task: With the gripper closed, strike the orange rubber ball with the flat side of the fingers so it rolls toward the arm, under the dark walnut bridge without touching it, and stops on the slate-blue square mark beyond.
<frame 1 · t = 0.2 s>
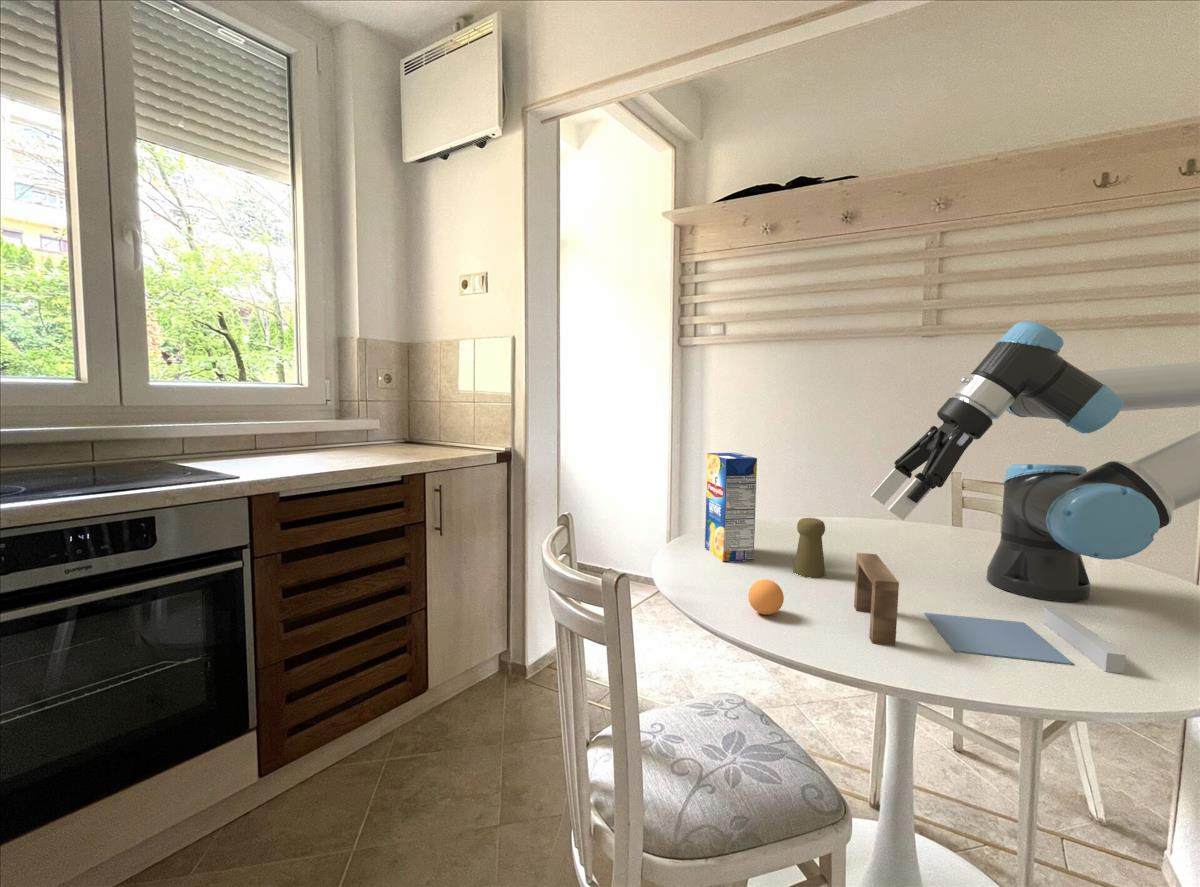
hand: (885, 507, 98), 16 cm above the table, tool tilted 35°, fingers open, 13 cm apart
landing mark: (991, 636, 83), on the table
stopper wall: (1079, 645, 80), on the table
cork: (809, 574, 112), on the table
beverage box: (728, 555, 125), on the table
ball: (765, 596, 91), on the table
bridge: (872, 624, 87), on the table
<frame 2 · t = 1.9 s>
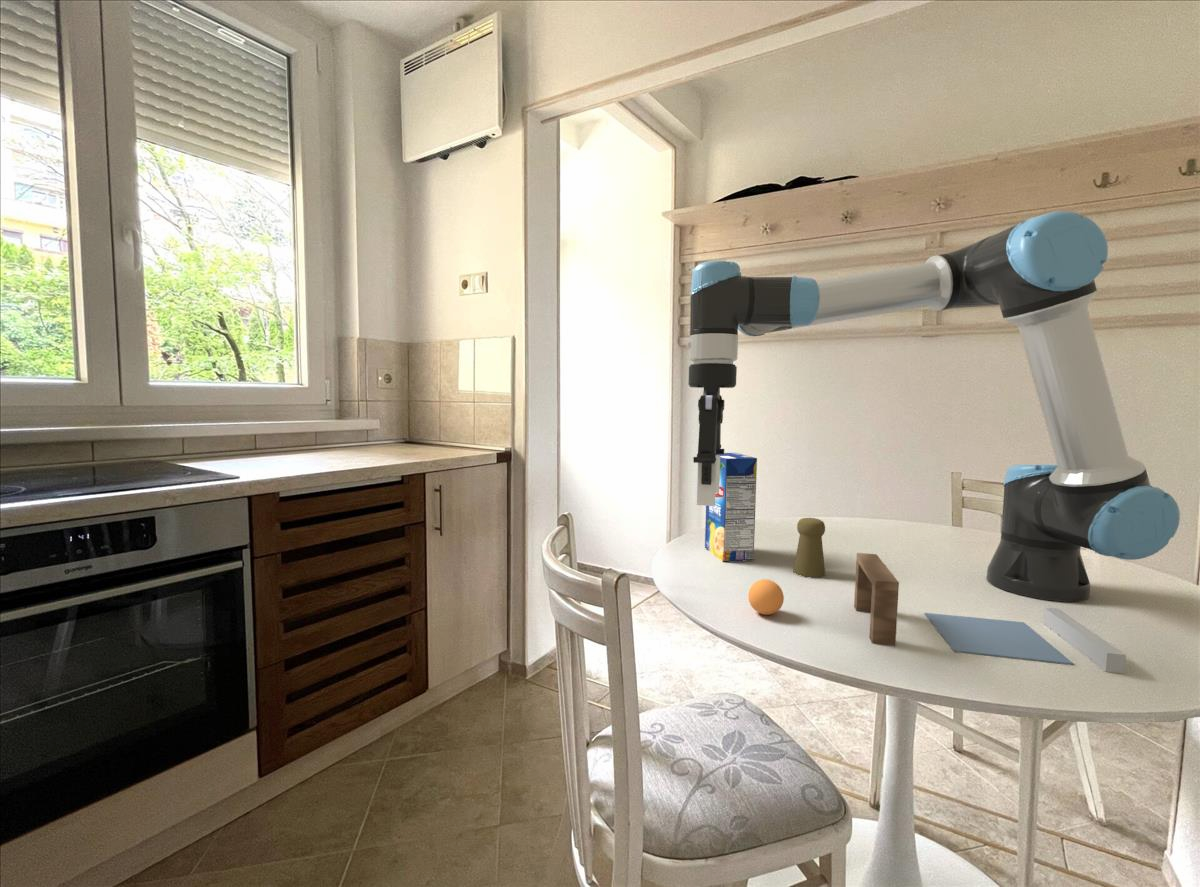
hand: (708, 498, 92), 18 cm above the table, tool pointing down, fingers open, 11 cm apart
nothing on the table moved.
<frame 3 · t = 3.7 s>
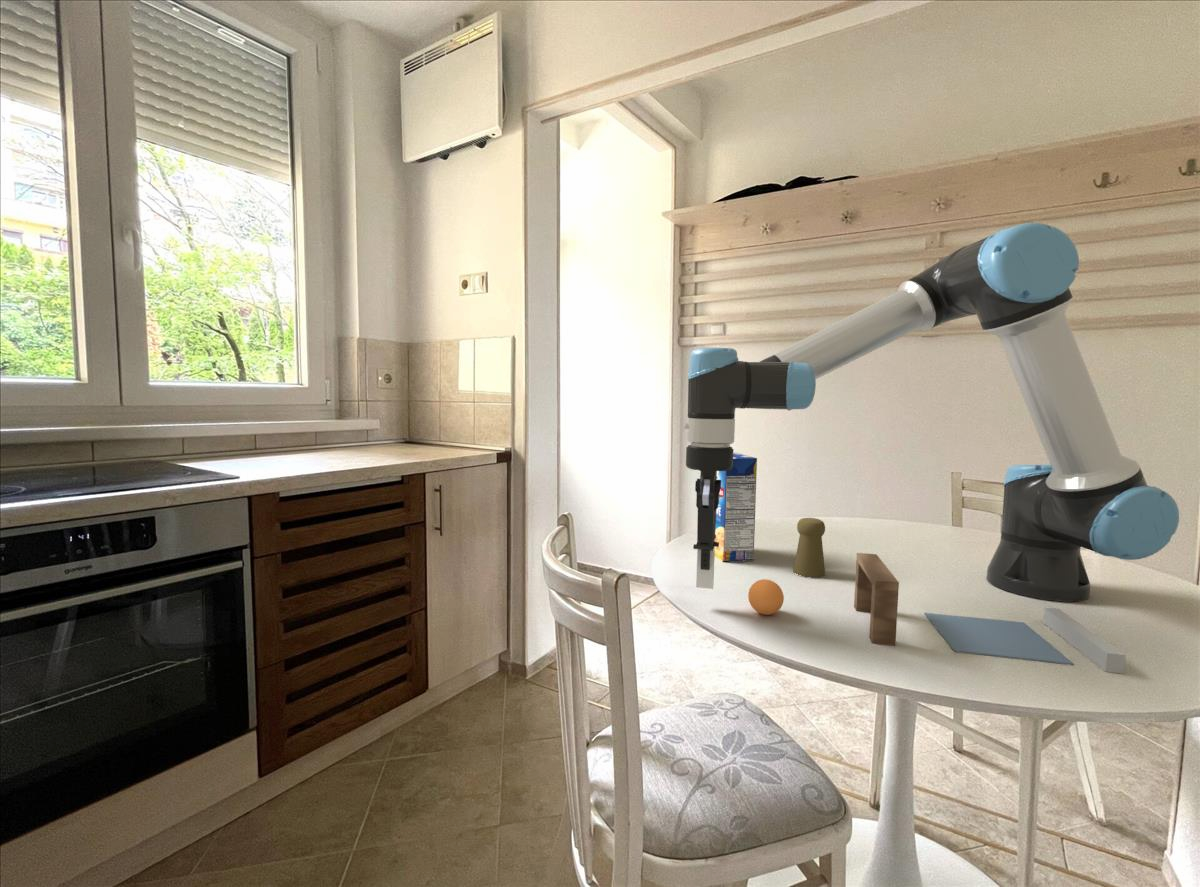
hand: (704, 586, 93), 4 cm above the table, tool pointing down, fingers closed
nothing on the table moved.
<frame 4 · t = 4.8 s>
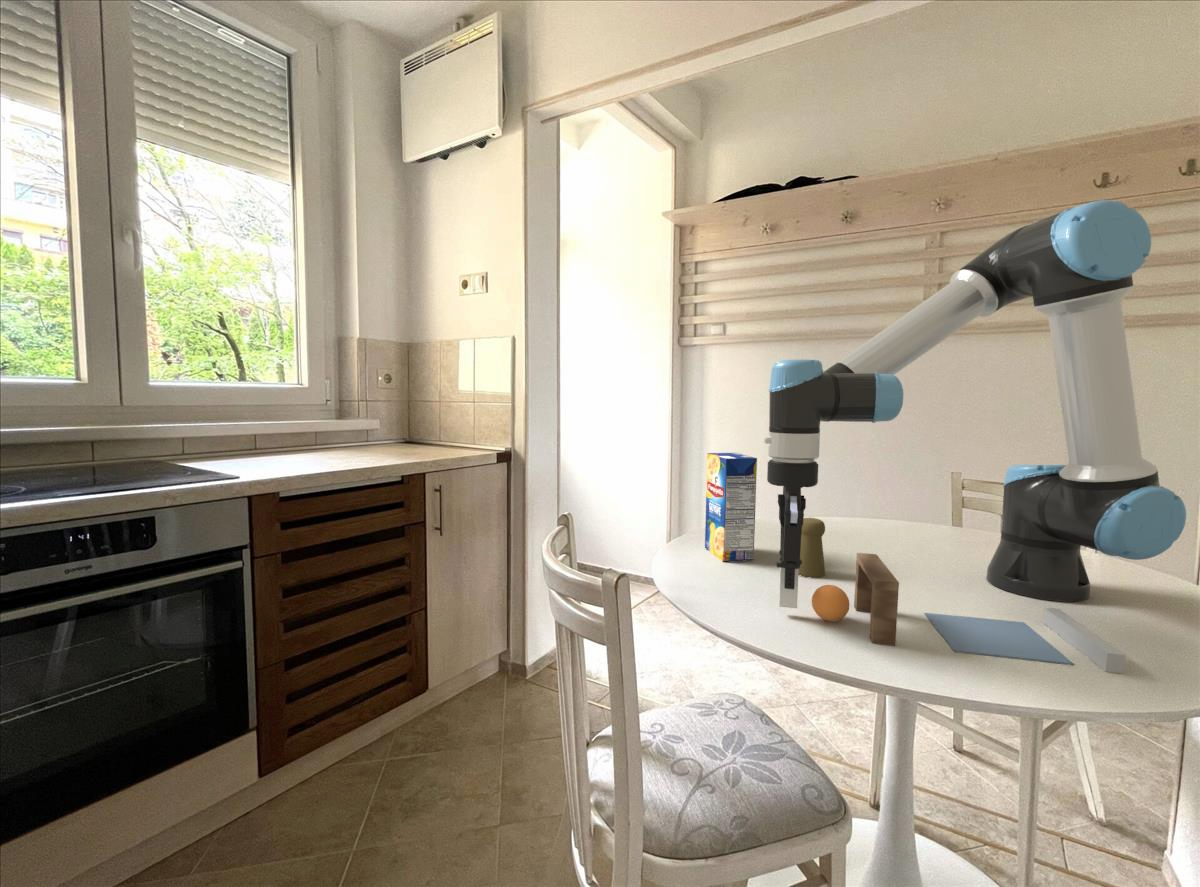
hand: (787, 605, 90), 2 cm above the table, tool pointing down, fingers closed
ball: (830, 602, 88), on the table
everything else where it was.
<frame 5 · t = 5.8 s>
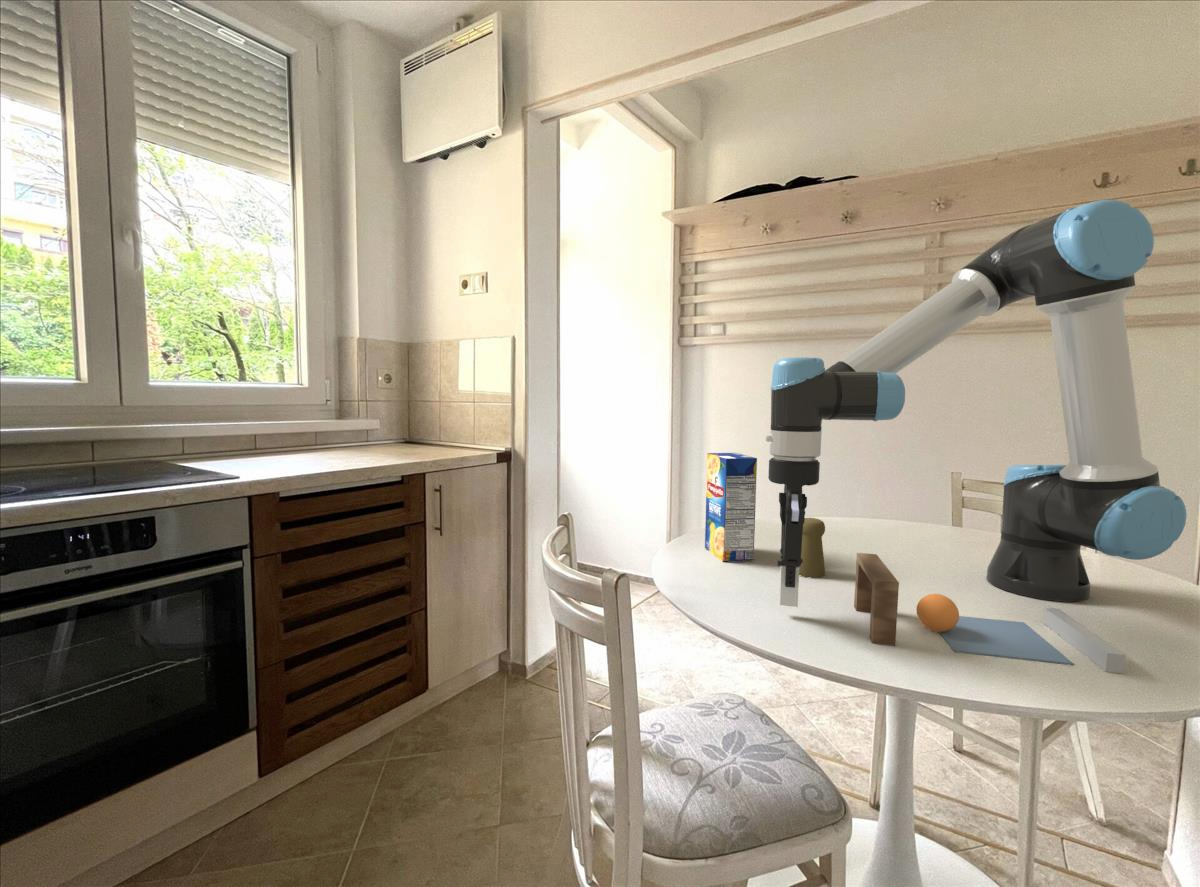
hand: (788, 604, 90), 2 cm above the table, tool pointing down, fingers closed
ball: (937, 612, 85), on the table
everything else where it was.
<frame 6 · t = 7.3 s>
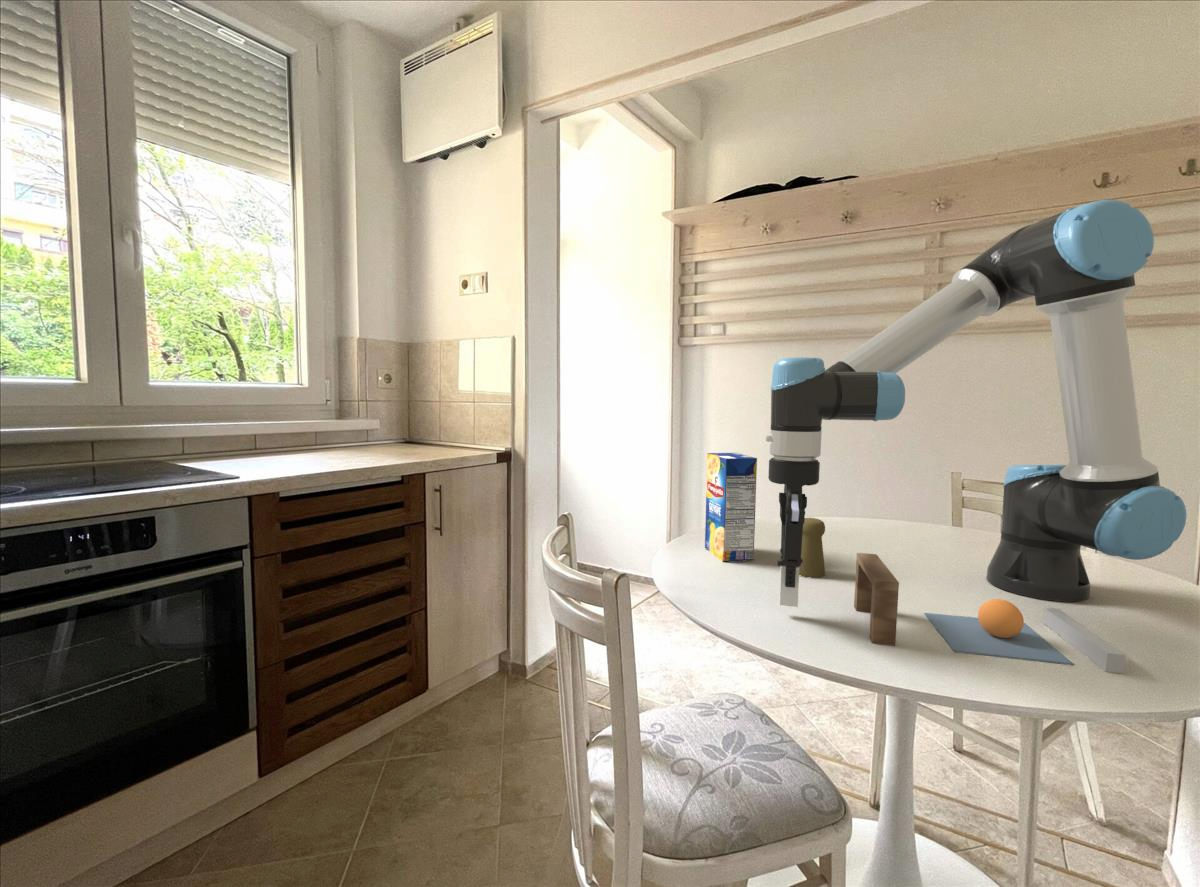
hand: (788, 604, 90), 2 cm above the table, tool pointing down, fingers closed
ball: (1000, 618, 83), on the table
everything else where it was.
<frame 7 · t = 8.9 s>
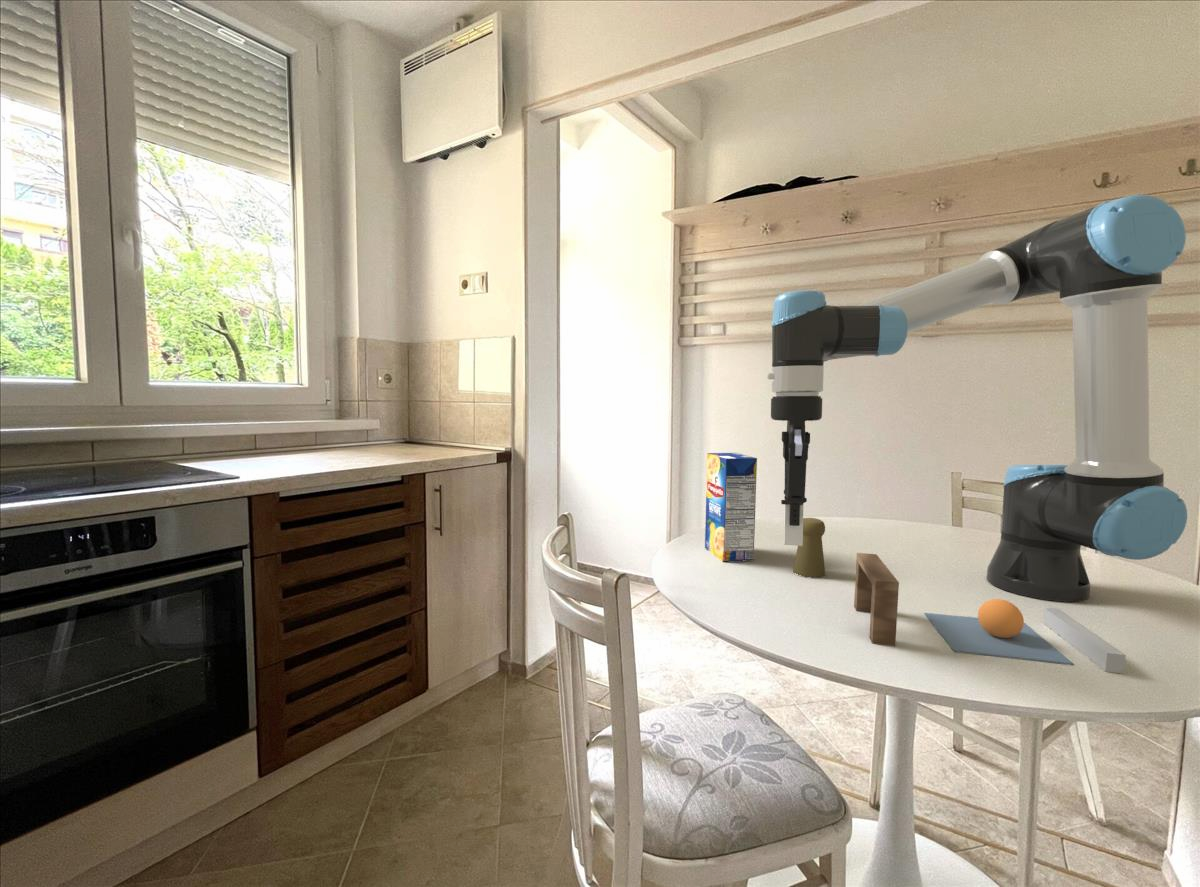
hand: (793, 544, 89), 12 cm above the table, tool pointing down, fingers closed
nothing on the table moved.
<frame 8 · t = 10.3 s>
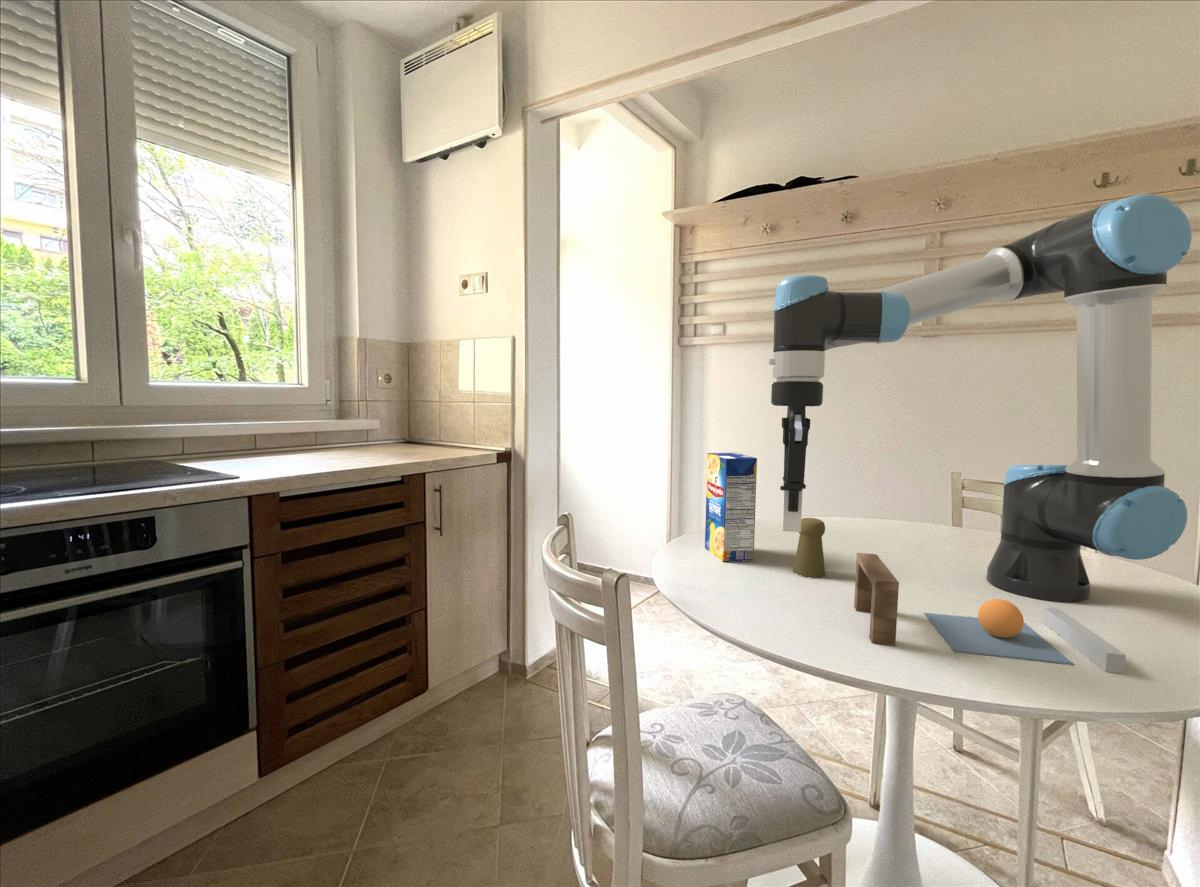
hand: (791, 530, 89), 14 cm above the table, tool pointing down, fingers closed
nothing on the table moved.
at the end: ball 1.3 cm from the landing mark (horizontally); ball never touched bridge; ball at rest at the end (0.0 cm/s) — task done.
